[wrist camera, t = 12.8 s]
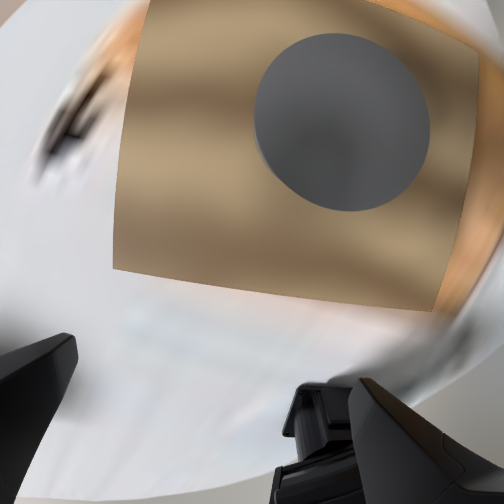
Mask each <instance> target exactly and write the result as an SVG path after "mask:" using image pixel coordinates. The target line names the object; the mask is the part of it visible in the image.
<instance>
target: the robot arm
mask: <svg viewBox="0 0 504 504" xmlns="http://www.w3.org/2000/svg"><path fill="white" fill-rule="evenodd" d="M77 362H78V351H77V345H76V339H75V337H74V336H73V335H71V334H68V333H60V334H58V335H55V336H52V337H49V338H47V339H44V340H41V341H39V342H36V343H33V344H31V345H28V346H25V347H23V348H20V349H17V350H14V351H12V352H9V353H6V354H4V355H1V356H0V504H14V501H15V499H16V496H17V494H18V491H19V489H20V486H21V484H22V482H23V479H24V477H25V475H26V473H27V470H28V468H29V466H30V464H31V461H32V459H33V457H34V455H35V453H36V451H37V449H38V446H39V444H40V442H41V440H42V438H43V436H44V434H45V432H46V430H47V428H48V426H49V424H50V422H51V420H52V418H53V416H54V414H55V412H56V411H57V409H58V407H59V405H60V403H61V401H62V399H63V397H64V394H65V392H66V389H67V387H68V384H69V382H70V379H71V377H72V375H73V372H74V370H75V367H76V365H77ZM302 391H304V392H302ZM301 392H302V393H301ZM287 432H288V433H287ZM282 435H283V436H284V437H295V440H296V447H297V454H298V463H294V464H291V465H287V466H284V467H283V466H280V467H277V468H275V474H274V478H273V484H272V490H271V496H270V502H269V504H504V469H503V468H501V467H498V466H497V465H495V464H493V463H491V462H489V461H487V460H486V459H484V458H482V457H481V456H479V455H477V454H475V453H474V452H472V451H470V450H469V449H467V448H465V447H464V446H462V445H461V444H459V443H458V442H456V441H455V440H453V439H452V438H450V437H449V436H448V435H446V434H445V433H442V431H441V430H439V429H438V428H437V427H435V426H434V425H432V424H431V423H430V422H428V421H427V420H425V419H424V418H423V417H421V416H420V415H419V414H418V413H416V412H415V411H413V410H412V409H411V408H409V407H408V406H407V405H405V404H404V403H403V402H401V401H400V400H399V399H397V398H396V397H395V396H393V395H392V394H391V393H389V392H388V391H387V390H385V389H384V388H383V387H381V386H380V385H379V384H377V383H376V382H375V381H373V380H372V379H371V378H358V379H357V380H356V382H355V384H354V386H353V388H328V387H308V386H301V387H298V388H297V389H296V392H295V395H294V398H293V401H292V404H291V407H290V410H289V413H288V416H287V418H286V421H285V424H284V427H283V430H282Z"/></svg>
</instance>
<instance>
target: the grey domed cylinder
mask: <svg viewBox="0 0 504 504" xmlns="http://www.w3.org/2000/svg"><path fill="white" fill-rule="evenodd" d="M253 132H254V139H255V144H256V147H257V150H258V152H259V154H260V157H261V158H262V160H263V162H264V163H265V165H266V166H267V167H268V169H269V170H270V171H271V172H272V173H273V174H274V175H275V176H276V177H277V178H278V179H280V180H281V181H282V182H283V183H284V184H285V185H286V186H287V187H288V188H290V189H291V190H292V191H294V192H295V193H296V194H298V195H299V196H300V197H302V198H304V199H306V200H307V201H309V202H311V203H314V204H316V205H318V206H321V207H324V208H328V209H331V210H337V211H350V212H356V211H363V210H369V209H373V208H376V207H379V206H381V205H384V204H386V203H388V202H390V201H391V200H393V199H395V198H396V197H398V196H399V195H400V194H401V193H402V192H404V191H405V190H406V189H407V188H408V187H409V186H410V184H411V183H412V182H413V181H414V179H415V178H416V177H417V175H418V174H419V172H420V170H421V168H422V166H423V164H424V161H425V158H426V155H427V152H428V147H429V141H430V119H429V112H428V108H427V104H426V101H425V98H424V96H423V93H422V91H421V89H420V87H419V85H418V83H417V81H416V79H415V78H414V77H413V75H412V74H411V72H410V71H409V70H408V68H407V67H406V66H405V65H404V64H403V63H402V62H401V61H400V60H399V59H398V58H397V57H396V56H395V55H393V54H392V53H391V52H389V51H388V50H386V49H385V48H384V47H382V46H380V45H378V44H376V43H374V42H372V41H370V40H367V39H365V38H362V37H358V36H354V35H350V34H342V33H326V34H319V35H314V36H311V37H307V38H305V39H302V40H300V41H298V42H296V43H294V44H292V45H291V46H289V47H288V48H286V49H285V50H284V51H283V52H281V53H280V54H279V55H278V56H277V57H276V58H275V59H274V60H273V62H272V63H271V64H270V65H269V67H268V68H267V70H266V72H265V73H264V75H263V77H262V79H261V82H260V84H259V87H258V91H257V94H256V99H255V108H254V122H253Z"/></svg>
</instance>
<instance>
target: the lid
mask: <svg viewBox="0 0 504 504" xmlns="http://www.w3.org/2000/svg"><path fill="white" fill-rule="evenodd" d="M326 33H342V34H350V35H354V36H358V37H362V38H365V39H367V40H370V41H372V42H374V43H376V44H378V45H380V46H382V47H384V48H385V49H386V50H388V51H389V52H391V53H392V54H393V55H395V56H396V57H397V58H398V59H399V60H400V61H401V62H402V63H403V64H404V65H405V66H406V67H407V68H408V70H409V71H410V72H411V74H412V75H413V77H414V78H415V79H416V81H417V83H418V85H419V87H420V89H421V91H422V93H423V96H424V98H425V101H426V104H427V108H428V112H429V119H430V141H429V147H428V152H427V155H426V158H425V161H424V164H423V166H422V168H421V170H420V172H419V174H418V175H417V177H416V178H415V179H414V181H413V182H412V183H411V184H410V186H409V187H408V188H407V189H406V190H405V191H404V192H402V193H401V194H400V195H399V196H398V197H396V198H395V199H393V200H391V201H390V202H388V203H386V204H384V205H381V206H379V207H376V208H373V209H369V210H363V211H356V212H350V211H337V210H331V209H328V208H324V207H321V206H318V205H316V204H314V203H311V202H309V201H307V200H306V199H304V198H302V197H300V196H299V195H298V194H296V193H295V192H294V191H292V190H291V189H290V188H288V187H287V186H286V185H285V184H284V183H283V182H282V181H281V180H280V179H278V178H277V177H276V176H275V175H274V174H273V173H272V172H271V171H270V170H269V169H268V167H267V166H266V165H265V163H264V162H263V160H262V158H261V157H260V154H259V152H258V150H257V147H256V144H255V139H254V132H253V122H254V108H255V99H256V94H257V91H258V87H259V84H260V82H261V79H262V77H263V75H264V73H265V72H266V70H267V68H268V67H269V65H270V64H271V63H272V62H273V60H274V59H275V58H276V57H277V56H278V55H279V54H280V53H281V52H283V51H284V50H285V49H286V48H288V47H289V46H291V45H292V44H294V43H296V42H298V41H300V40H302V39H305V38H307V37H311V36H314V35H319V34H326ZM478 84H479V52H478V51H476V50H474V49H473V48H471V47H469V46H467V45H466V44H464V43H462V42H460V41H458V40H457V39H455V38H453V37H451V36H449V35H447V34H445V33H443V32H441V31H439V30H437V29H435V28H433V27H431V26H428V25H426V24H424V23H422V22H420V21H417V20H415V19H413V18H410V17H408V16H406V15H403V14H401V13H398V12H395V11H393V10H390V9H388V8H385V7H382V6H379V5H376V4H373V3H370V2H367V1H364V0H151V1H150V4H149V8H148V11H147V15H146V18H145V22H144V25H143V29H142V33H141V37H140V41H139V45H138V49H137V53H136V58H135V62H134V67H133V72H132V76H131V82H130V87H129V92H128V98H127V103H126V109H125V116H124V122H123V129H122V136H121V144H120V152H119V161H118V171H117V182H116V194H115V209H114V230H113V269H117V270H123V271H128V272H134V273H139V274H145V275H151V276H157V277H163V278H169V279H175V280H181V281H187V282H193V283H200V284H206V285H212V286H219V287H226V288H232V289H239V290H246V291H253V292H260V293H268V294H275V295H282V296H290V297H298V298H306V299H314V300H322V301H330V302H339V303H347V304H356V305H366V306H375V307H385V308H395V309H405V310H416V311H427V312H432V309H433V307H434V304H435V301H436V298H437V296H438V293H439V290H440V287H441V284H442V281H443V278H444V275H445V272H446V268H447V265H448V262H449V259H450V255H451V252H452V248H453V245H454V241H455V237H456V233H457V230H458V226H459V222H460V217H461V213H462V209H463V204H464V199H465V194H466V189H467V184H468V179H469V173H470V167H471V160H472V153H473V146H474V138H475V129H476V118H477V105H478Z"/></svg>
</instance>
